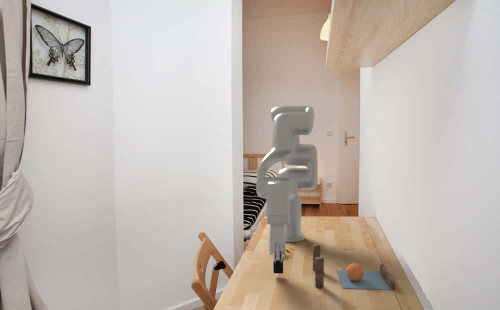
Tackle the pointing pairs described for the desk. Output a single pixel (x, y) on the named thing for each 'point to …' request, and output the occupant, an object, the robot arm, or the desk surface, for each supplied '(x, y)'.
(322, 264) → the post near camera
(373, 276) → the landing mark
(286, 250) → the creature
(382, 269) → the wall
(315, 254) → the post near arm
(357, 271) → the ball
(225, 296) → the desk surface
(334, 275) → the desk surface
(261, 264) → the desk surface
